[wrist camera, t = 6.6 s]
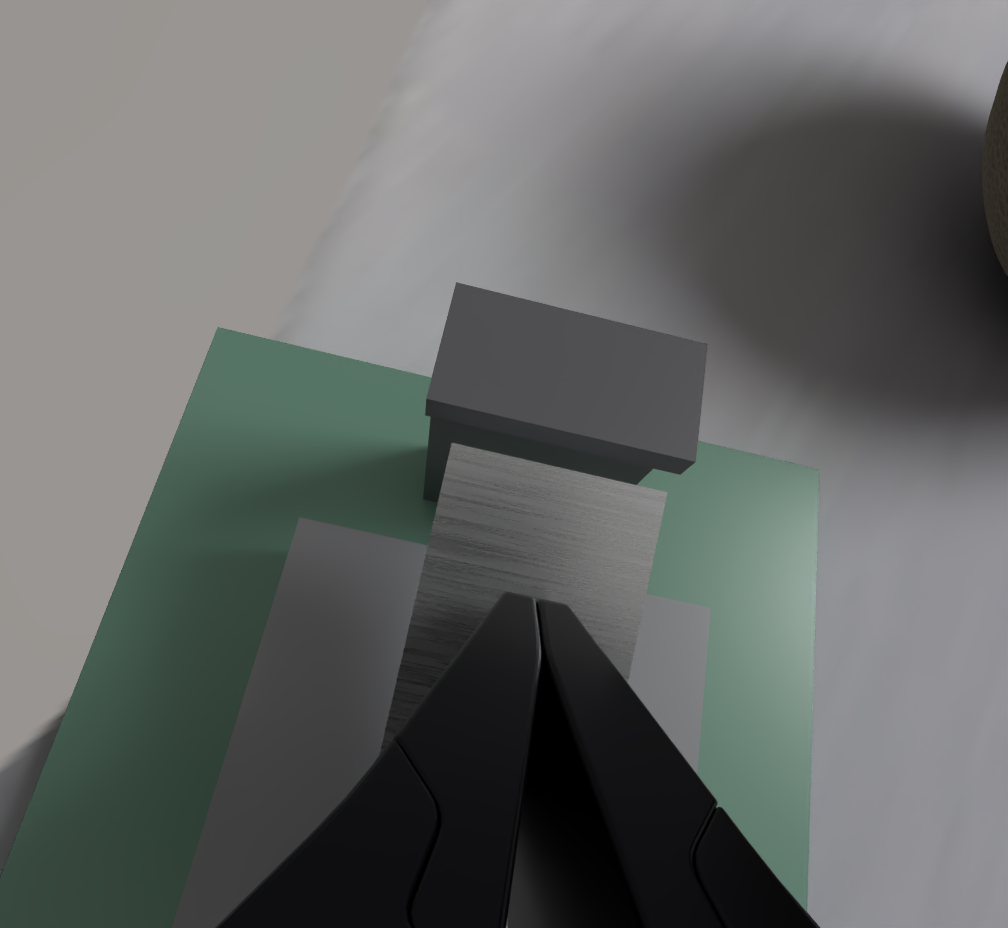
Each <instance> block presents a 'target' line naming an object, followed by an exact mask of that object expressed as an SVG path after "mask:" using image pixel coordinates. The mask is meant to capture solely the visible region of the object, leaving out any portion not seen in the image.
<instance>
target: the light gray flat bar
mask: <svg viewBox="0 0 1008 928" xmlns="http://www.w3.org/2000/svg"><path fill="white" fill-rule="evenodd" d="M666 497H667V492H664V491H659V490H655V489H651V488H646V487H642V486H638V485H633V484H629V483H625V482H620V481H616V480H612V479H607V478H603V477H599V476H594V475H590V474H586V473H581V472H577V471H573V470H568V469H564V468H560V467H555V466H551V465H547V464H542V463H538V462H534V461H530V460H525V459H521V458H517V457H512V456H508V455H504V454H499V453H495V452H491V451H486V450H482V449H478V448H473V447H469V446H465V445H460V444H456V443H451V448H450V452H449V456H448V461H447V465H446V469H445V474H444V478H443V482H442V487H441V491H440V495H439V500H438V504H437V508H436V512H435V517H434V521H433V525H432V530H431V534H430V538H429V543H428V547H427V551H426V556H425V560H424V564H423V569H422V573H421V577H420V582H419V586H418V590H417V595H416V599H415V603H414V608H413V612H412V616H411V621H410V625H409V629H408V634H407V638H406V642H405V646H404V651H403V655H402V659H401V664H400V668H399V672H398V677H397V681H396V685H395V690H394V694H393V698H392V703H391V707H390V711H389V716H388V720H387V724H386V729H385V733H384V737H383V742H382V746H381V750H380V754H381V752H382V751H383V750H384V749H385V747H386V746H387V745H388V743H389V742H391V741H392V740H393V737H394V736H395V735H396V733H397V732H398V731H399V729H400V728H401V727H402V725H403V724H404V723H405V722H406V720H407V719H408V718H409V716H410V715H411V714H412V712H413V711H414V710H415V708H416V707H417V706H418V704H419V703H420V702H421V700H422V699H423V698H424V696H425V695H426V694H427V693H428V691H429V690H430V689H431V687H432V686H433V685H434V683H435V682H436V681H437V679H438V678H439V677H440V675H441V674H442V673H443V671H444V670H445V669H446V667H447V666H448V665H449V664H450V662H451V661H452V660H453V658H454V657H455V656H456V654H457V653H458V652H459V650H460V649H461V648H462V646H463V645H464V644H465V642H466V641H467V640H468V638H469V637H470V636H471V635H472V633H473V632H474V631H475V629H476V628H477V627H478V625H479V624H480V623H481V621H482V620H483V619H484V617H485V616H486V615H487V613H488V612H489V611H490V609H491V608H492V607H493V606H494V604H495V603H496V602H497V600H498V599H499V598H500V596H501V595H502V594H503V593H504V592H507V591H508V592H513V593H518V594H523V595H527V596H531V597H533V598H534V599H535V601H537V600H538V599H546V600H550V601H555V602H560V603H564V604H567V605H568V606H569V607H570V608H571V609H572V610H573V611H574V613H575V614H576V615H577V617H578V618H579V619H580V621H581V622H582V623H583V625H584V626H585V627H586V629H587V630H588V631H589V633H590V634H591V635H592V636H593V638H594V639H595V640H596V642H597V643H598V644H599V646H600V647H601V648H602V650H603V651H604V652H605V654H606V655H607V656H608V658H609V659H610V660H611V661H612V663H613V664H614V665H615V667H616V668H617V669H618V671H619V672H620V673H621V675H622V676H623V677H624V679H625V680H626V681H627V683H628V679H629V674H630V670H631V665H632V660H633V655H634V650H635V646H636V641H637V636H638V631H639V626H640V622H641V617H642V612H643V607H644V603H645V598H646V593H647V588H648V583H649V579H650V574H651V569H652V564H653V559H654V555H655V550H656V545H657V540H658V536H659V531H660V526H661V521H662V516H663V512H664V507H665V502H666ZM506 928H508V927H507V925H506Z"/></svg>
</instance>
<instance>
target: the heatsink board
mask: <svg viewBox="0 0 1008 928" xmlns="http://www.w3.org/2000/svg"><path fill="white" fill-rule="evenodd" d="M706 352H707V344H704V343H700V342H696V341H692V340H688V339H684V338H680V337H676V336H672V335H668V334H664V333H660V332H656V331H651V330H647V329H643V328H639V327H635V326H631V325H627V324H623V323H619V322H615V321H611V320H607V319H603V318H599V317H595V316H591V315H586V314H582V313H578V312H574V311H570V310H566V309H562V308H558V307H554V306H550V305H546V304H542V303H538V302H534V301H530V300H526V299H522V298H517V297H513V296H509V295H505V294H501V293H497V292H493V291H489V290H485V289H481V288H477V287H473V286H469V285H465V284H461V283H457V282H456V285H455V289H454V293H453V297H452V301H451V305H450V309H449V313H448V316H447V320H446V324H445V328H444V332H443V336H442V340H441V344H440V347H439V351H438V355H437V359H436V363H435V367H434V371H433V375H432V378H430V377H426V376H422V375H418V374H414V373H409V372H405V371H401V370H397V369H392V368H388V367H384V366H380V365H376V364H371V363H367V362H363V361H359V360H354V359H350V358H346V357H342V356H338V355H333V354H329V353H325V352H321V351H316V350H312V349H308V348H304V347H300V346H295V345H291V344H287V343H283V342H278V341H274V340H270V339H266V338H261V337H257V336H253V335H249V334H245V333H240V332H236V331H232V330H228V329H223V328H219V327H218V328H217V330H216V333H215V336H214V338H213V341H212V344H211V346H210V348H209V351H208V353H207V356H206V358H205V361H204V363H203V366H202V368H201V371H200V373H199V376H198V378H197V381H196V384H195V386H194V389H193V392H192V394H191V396H190V399H189V401H188V404H187V406H186V409H185V412H184V414H183V416H182V419H181V421H180V424H179V427H178V429H177V431H176V434H175V437H174V439H173V442H172V444H171V447H170V449H169V452H168V454H167V457H166V459H165V462H164V465H163V467H162V470H161V472H160V475H159V477H158V479H157V482H156V485H155V487H154V490H153V492H152V495H151V497H150V500H149V502H148V505H147V507H146V510H145V512H144V515H143V517H142V520H141V523H140V525H139V527H138V530H137V533H136V535H135V538H134V540H133V543H132V545H131V548H130V550H129V553H128V555H127V558H126V560H125V563H124V565H123V568H122V570H121V573H120V575H119V578H118V580H117V583H116V586H115V588H114V591H113V593H112V596H111V598H110V601H109V603H108V606H107V608H106V611H105V613H104V616H103V618H102V621H101V623H100V626H99V629H98V631H97V634H96V636H95V639H94V641H93V644H92V646H91V649H90V651H89V654H88V656H87V659H86V661H85V664H84V666H83V669H82V671H81V674H80V677H79V679H78V682H77V684H76V687H75V689H74V692H73V694H72V697H71V699H70V702H69V704H68V707H67V709H66V712H65V714H64V717H63V719H62V722H61V724H60V727H59V729H58V732H57V735H56V737H55V740H54V742H53V745H52V747H51V750H50V752H49V755H48V757H47V760H46V762H45V765H44V767H43V770H42V772H41V775H40V777H39V780H38V783H37V785H36V788H35V790H34V793H33V795H32V798H31V800H30V803H29V805H28V808H27V810H26V813H25V815H24V818H23V820H22V823H21V825H20V828H19V830H18V833H17V836H16V838H15V841H14V843H13V846H12V848H11V851H10V853H9V856H8V858H7V861H6V863H5V866H4V868H3V871H2V873H1V876H0V928H215V927H216V926H217V925H218V924H219V923H220V922H221V921H222V920H223V919H224V918H225V917H226V916H227V915H228V914H229V913H230V912H231V911H232V910H233V909H234V908H235V907H236V906H237V905H238V904H239V903H240V902H241V901H242V900H243V899H245V898H246V897H247V896H248V895H249V894H250V893H251V892H252V891H253V890H254V889H255V888H256V887H257V886H258V885H259V884H260V883H261V882H262V881H263V880H264V879H265V878H266V877H267V876H268V875H269V874H270V873H271V872H272V871H273V870H274V869H275V868H276V867H277V866H278V865H279V864H280V863H281V862H282V861H283V860H284V859H285V858H286V857H287V856H288V855H289V854H291V853H292V852H293V851H294V850H295V849H296V848H297V847H298V846H299V845H300V844H301V843H302V842H303V841H304V840H305V839H306V838H307V837H308V836H309V835H310V834H311V833H312V832H313V831H314V830H315V829H316V828H317V827H318V825H319V824H320V823H321V822H322V821H323V820H324V819H325V818H326V817H327V816H328V815H329V814H330V813H331V812H332V811H333V810H334V809H335V808H336V807H337V806H338V805H339V803H340V802H341V801H342V800H343V799H344V798H345V797H346V796H347V795H348V793H349V792H350V791H351V790H352V789H353V787H354V786H355V785H356V784H357V782H358V781H359V780H360V779H361V778H362V776H363V775H364V774H365V773H366V772H367V770H368V769H369V768H370V767H371V766H372V764H373V763H374V762H375V760H376V759H377V758H378V756H379V755H380V750H381V746H382V742H383V737H384V733H385V729H386V724H387V720H388V716H389V711H390V707H391V703H392V698H393V694H394V690H395V685H396V681H397V677H398V672H399V668H400V664H401V659H402V655H403V651H404V646H405V642H406V638H407V634H408V629H409V625H410V621H411V616H412V612H413V608H414V603H415V599H416V595H417V590H418V586H419V582H420V577H421V573H422V569H423V564H424V560H425V556H426V551H427V547H428V543H429V538H430V534H431V530H432V525H433V521H434V517H435V512H436V508H437V504H438V500H439V495H440V491H441V487H442V482H443V478H444V474H445V469H446V465H447V461H448V456H449V452H450V448H451V443H456V444H460V445H465V446H469V447H473V448H478V449H482V450H486V451H491V452H495V453H499V454H504V455H508V456H512V457H517V458H521V459H525V460H530V461H534V462H538V463H542V464H547V465H551V466H555V467H560V468H564V469H568V470H573V471H577V472H581V473H586V474H590V475H594V476H599V477H603V478H607V479H612V480H616V481H620V482H625V483H629V484H633V485H638V486H642V487H646V488H651V489H655V490H659V491H664V492H667V497H666V502H665V507H664V512H663V516H662V521H661V526H660V531H659V536H658V540H657V545H656V550H655V555H654V559H653V564H652V569H651V574H650V579H649V583H648V588H647V593H646V598H645V603H644V607H643V612H642V617H641V622H640V626H639V631H638V636H637V641H636V646H635V650H634V655H633V660H632V665H631V670H630V674H629V679H628V684H629V685H630V687H631V688H632V689H633V690H634V692H635V693H636V694H637V696H638V697H639V698H640V700H641V701H642V702H643V704H644V705H645V706H646V708H647V709H648V710H649V712H650V713H651V714H652V715H653V717H654V718H655V719H656V721H657V722H658V723H659V725H660V726H661V727H662V729H663V730H664V731H665V733H666V734H667V735H668V737H669V738H670V739H671V740H672V742H673V743H674V744H675V746H676V747H677V748H678V750H679V751H680V752H681V754H682V755H683V756H684V758H685V759H686V760H687V762H688V763H689V764H690V766H691V767H692V768H693V769H694V771H695V772H696V773H697V775H698V776H699V777H700V779H701V780H702V781H703V783H704V784H705V785H706V787H707V788H708V789H709V791H710V792H711V793H712V794H713V796H714V797H715V798H716V800H717V802H718V805H717V807H722V808H723V809H724V810H725V811H726V813H727V814H728V815H729V816H730V818H731V819H732V820H733V822H734V823H735V824H736V826H737V827H738V828H739V830H740V831H741V832H742V834H743V835H744V836H745V837H746V839H747V840H748V841H749V842H750V844H751V845H752V846H753V847H754V849H755V850H756V851H757V853H758V854H759V855H760V856H761V858H762V859H763V860H764V861H765V863H766V864H767V865H768V866H769V868H770V869H771V870H772V871H773V873H774V874H775V875H776V876H777V878H778V879H779V880H780V881H781V883H782V884H783V885H784V886H785V887H786V888H787V890H788V891H789V892H790V893H791V894H792V895H793V897H794V898H795V899H796V900H797V901H798V902H799V904H800V905H801V906H802V907H803V908H804V909H805V910H806V912H807V893H808V857H809V822H810V786H811V750H812V715H813V679H814V644H815V608H816V572H817V537H818V501H819V469H815V468H811V467H807V466H802V465H798V464H794V463H790V462H785V461H781V460H777V459H773V458H769V457H764V456H760V455H756V454H752V453H747V452H743V451H739V450H735V449H730V448H726V447H722V446H718V445H714V444H709V443H705V442H701V441H698V434H699V424H700V414H701V404H702V393H703V383H704V373H705V363H706ZM717 807H716V808H717Z"/></svg>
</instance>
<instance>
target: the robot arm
mask: <svg viewBox="0 0 1008 928" xmlns="http://www.w3.org/2000/svg"><path fill="white" fill-rule="evenodd" d="M717 805H718V802H717V800H716V798H715V797H714V796H713V794H712V793H711V792H710V791H709V789H708V788H707V787H706V785H705V784H704V783H703V781H702V780H701V779H700V777H699V776H698V775H697V773H696V772H695V771H694V769H693V768H692V767H691V766H690V764H689V763H688V762H687V760H686V759H685V758H684V756H683V755H682V754H681V752H680V751H679V750H678V748H677V747H676V746H675V744H674V743H673V742H672V740H671V739H670V738H669V737H668V735H667V734H666V733H665V731H664V730H663V729H662V727H661V726H660V725H659V723H658V722H657V721H656V719H655V718H654V717H653V715H652V714H651V713H650V712H649V710H648V709H647V708H646V706H645V705H644V704H643V702H642V701H641V700H640V698H639V697H638V696H637V694H636V693H635V692H634V690H633V689H632V688H631V687H630V685H629V684H628V683H627V681H626V680H625V679H624V677H623V676H622V675H621V673H620V672H619V671H618V669H617V668H616V667H615V665H614V664H613V663H612V661H611V660H610V659H609V658H608V656H607V655H606V654H605V652H604V651H603V650H602V648H601V647H600V646H599V644H598V643H597V642H596V640H595V639H594V638H593V636H592V635H591V634H590V633H589V631H588V630H587V629H586V627H585V626H584V625H583V623H582V622H581V621H580V619H579V618H578V617H577V615H576V614H575V613H574V611H573V610H572V609H571V608H570V607H569V606H568V605H567V604H564V603H560V602H555V601H550V600H546V599H538V600H537V601H535V599H534V598H533V597H531V596H527V595H523V594H518V593H513V592H508V591H507V592H504V593H503V594H502V595H501V596H500V598H499V599H498V600H497V602H496V603H495V604H494V606H493V607H492V608H491V609H490V611H489V612H488V613H487V615H486V616H485V617H484V619H483V620H482V621H481V623H480V624H479V625H478V627H477V628H476V629H475V631H474V632H473V633H472V635H471V636H470V637H469V638H468V640H467V641H466V642H465V644H464V645H463V646H462V648H461V649H460V650H459V652H458V653H457V654H456V656H455V657H454V658H453V660H452V661H451V662H450V664H449V665H448V666H447V667H446V669H445V670H444V671H443V673H442V674H441V675H440V677H439V678H438V679H437V681H436V682H435V683H434V685H433V686H432V687H431V689H430V690H429V691H428V693H427V694H426V695H425V696H424V698H423V699H422V700H421V702H420V703H419V704H418V706H417V707H416V708H415V710H414V711H413V712H412V714H411V715H410V716H409V718H408V719H407V720H406V722H405V723H404V724H403V725H402V727H401V728H400V729H399V731H398V732H397V733H396V735H395V736H394V737H393V740H392V741H391V742H389V743H388V745H387V746H386V747H385V749H384V750H383V751H382V752H381V754H380V755H379V756H378V758H377V759H376V760H375V762H374V763H373V764H372V766H371V767H370V768H369V769H368V770H367V772H366V773H365V774H364V775H363V776H362V778H361V779H360V780H359V781H358V782H357V784H356V785H355V786H354V787H353V789H352V790H351V791H350V792H349V793H348V795H347V796H346V797H345V798H344V799H343V800H342V801H341V802H340V803H339V805H338V806H337V807H336V808H335V809H334V810H333V811H332V812H331V813H330V814H329V815H328V816H327V817H326V818H325V819H324V820H323V821H322V822H321V823H320V824H319V825H318V827H317V828H316V829H315V830H314V831H313V832H312V833H311V834H310V835H309V836H308V837H307V838H306V839H305V840H304V841H303V842H302V843H301V844H300V845H299V846H298V847H297V848H296V849H295V850H294V851H293V852H292V853H291V854H289V855H288V856H287V857H286V858H285V859H284V860H283V861H282V862H281V863H280V864H279V865H278V866H277V867H276V868H275V869H274V870H273V871H272V872H271V873H270V874H269V875H268V876H267V877H266V878H265V879H264V880H263V881H262V882H261V883H260V884H259V885H258V886H257V887H256V888H255V889H254V890H253V891H252V892H251V893H250V894H249V895H248V896H247V897H246V898H245V899H243V900H242V901H241V902H240V903H239V904H238V905H237V906H236V907H235V908H234V909H233V910H232V911H231V912H230V913H229V914H228V915H227V916H226V917H225V918H224V919H223V920H222V921H221V922H220V923H219V924H218V925H217V926H216V927H215V928H506V925H507V927H508V928H820V927H819V926H818V924H817V923H816V922H815V921H814V920H813V919H812V917H811V916H810V915H809V914H808V913H807V912H806V910H805V909H804V908H803V907H802V906H801V905H800V904H799V902H798V901H797V900H796V899H795V898H794V897H793V895H792V894H791V893H790V892H789V891H788V890H787V888H786V887H785V886H784V885H783V884H782V883H781V881H780V880H779V879H778V878H777V876H776V875H775V874H774V873H773V871H772V870H771V869H770V868H769V866H768V865H767V864H766V863H765V861H764V860H763V859H762V858H761V856H760V855H759V854H758V853H757V851H756V850H755V849H754V847H753V846H752V845H751V844H750V842H749V841H748V840H747V839H746V837H745V836H744V835H743V834H742V832H741V831H740V830H739V828H738V827H737V826H736V824H735V823H734V822H733V820H732V819H731V818H730V816H729V815H728V814H727V813H726V811H725V810H724V809H723V808H722V807H717ZM716 807H717V808H716Z"/></svg>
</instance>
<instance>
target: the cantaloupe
mask: <svg viewBox="0 0 1008 928" xmlns="http://www.w3.org/2000/svg"><path fill="white" fill-rule="evenodd" d="M982 192H983V200H984V209H985V216H986V220H987V225H988V229H989V233H990V237H991V240H992V244H993V247H994V250H995V252H996V255H997V258H998V260H999V262H1000V264H1001V266H1002V268H1003V270H1004V272H1005V273H1006V275H1007V276H1008V62H1007V64H1006V66H1005V69H1004V71H1003V74H1002V77H1001V80H1000V83H999V86H998V89H997V93H996V96H995V99H994V103H993V106H992V109H991V113H990V116H989V120H988V124H987V128H986V132H985V139H984V147H983V156H982Z"/></svg>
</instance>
